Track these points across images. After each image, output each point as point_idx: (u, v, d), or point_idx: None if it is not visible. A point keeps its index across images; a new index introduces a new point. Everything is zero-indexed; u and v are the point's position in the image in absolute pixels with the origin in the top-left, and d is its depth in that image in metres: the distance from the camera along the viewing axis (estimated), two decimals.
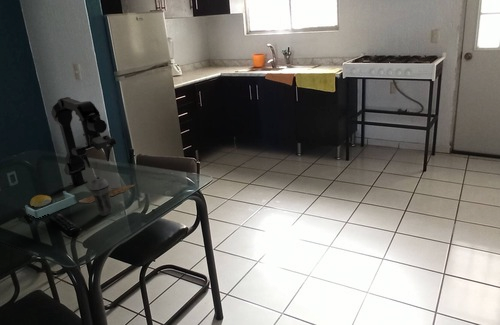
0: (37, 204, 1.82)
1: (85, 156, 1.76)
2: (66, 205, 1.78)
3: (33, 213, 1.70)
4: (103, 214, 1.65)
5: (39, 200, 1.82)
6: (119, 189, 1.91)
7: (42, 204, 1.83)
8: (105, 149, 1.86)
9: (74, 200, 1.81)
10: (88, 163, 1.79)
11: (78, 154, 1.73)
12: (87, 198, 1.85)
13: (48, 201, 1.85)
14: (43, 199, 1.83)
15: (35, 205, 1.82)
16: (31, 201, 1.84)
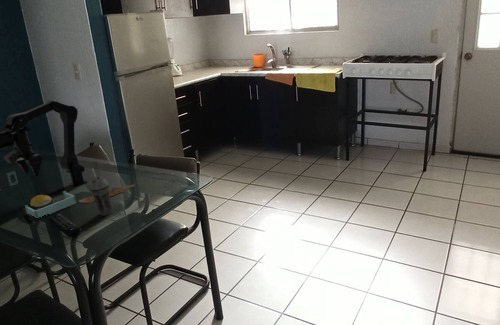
0: (37, 204, 1.82)
1: None
2: (66, 205, 1.78)
3: (33, 213, 1.70)
4: (103, 214, 1.65)
5: (39, 200, 1.82)
6: (119, 189, 1.91)
7: (42, 204, 1.83)
8: None
9: (74, 200, 1.81)
10: (23, 170, 1.89)
11: None
12: (87, 198, 1.85)
13: (48, 201, 1.85)
14: (43, 199, 1.83)
15: (35, 205, 1.82)
16: (31, 201, 1.84)
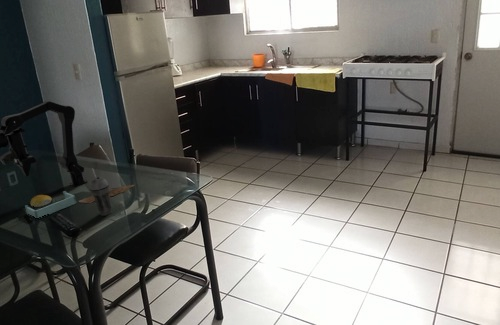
0: (37, 204, 1.82)
1: None
2: (66, 205, 1.78)
3: (33, 213, 1.70)
4: (103, 214, 1.65)
5: (39, 200, 1.82)
6: (119, 189, 1.91)
7: (42, 204, 1.83)
8: None
9: (74, 200, 1.81)
10: (23, 172, 1.87)
11: None
12: (87, 198, 1.85)
13: (48, 201, 1.85)
14: (43, 199, 1.83)
15: (35, 205, 1.82)
16: (31, 201, 1.84)
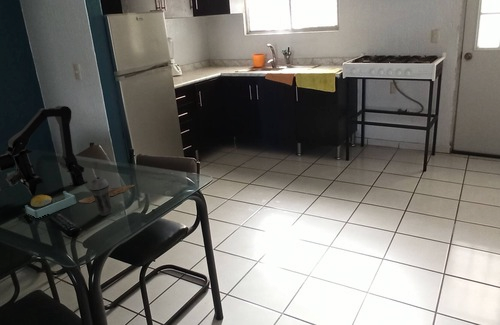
0: (37, 204, 1.82)
1: (23, 184, 1.89)
2: (66, 205, 1.78)
3: (33, 213, 1.70)
4: (103, 214, 1.65)
5: (39, 200, 1.82)
6: (119, 189, 1.91)
7: (42, 204, 1.83)
8: None
9: (74, 200, 1.81)
10: (29, 191, 1.90)
11: None
12: (87, 198, 1.85)
13: (48, 201, 1.85)
14: (43, 199, 1.83)
15: (35, 205, 1.82)
16: (31, 201, 1.84)
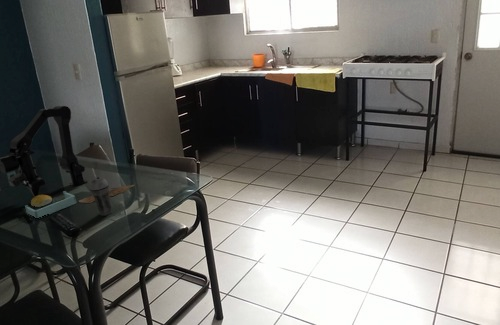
0: (38, 204, 1.82)
1: (26, 186, 1.86)
2: (66, 205, 1.78)
3: (33, 213, 1.70)
4: (103, 214, 1.65)
5: (40, 200, 1.82)
6: (119, 189, 1.91)
7: (43, 204, 1.83)
8: None
9: (74, 200, 1.81)
10: (32, 193, 1.88)
11: None
12: (87, 198, 1.85)
13: (49, 201, 1.85)
14: (44, 199, 1.83)
15: (36, 205, 1.82)
16: (32, 201, 1.83)
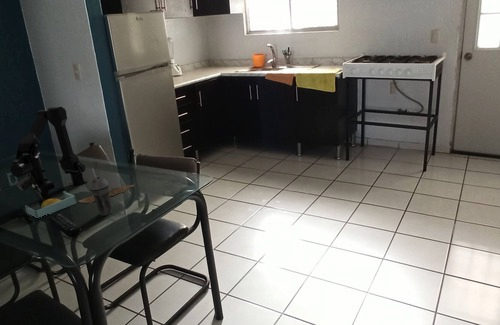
0: None
1: (35, 190, 1.80)
2: (66, 205, 1.78)
3: (33, 213, 1.70)
4: (103, 214, 1.65)
5: None
6: (119, 189, 1.91)
7: None
8: None
9: (74, 200, 1.81)
10: None
11: None
12: (87, 198, 1.85)
13: None
14: (55, 202, 1.78)
15: None
16: (42, 205, 1.77)
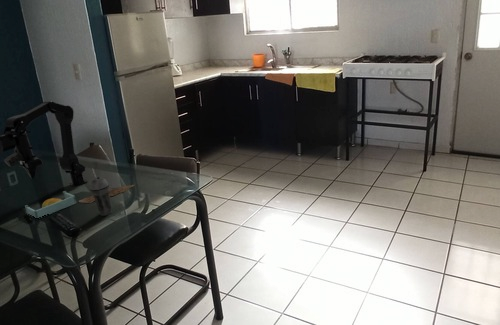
0: None
1: None
2: (66, 205, 1.78)
3: (33, 213, 1.70)
4: (103, 214, 1.65)
5: (53, 203, 1.76)
6: (119, 189, 1.91)
7: None
8: None
9: (74, 200, 1.81)
10: None
11: None
12: (87, 198, 1.85)
13: None
14: None
15: None
16: (43, 205, 1.77)
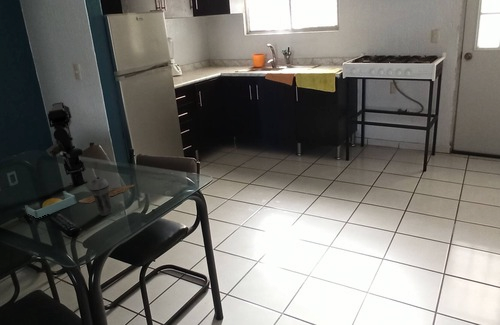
0: None
1: (63, 157, 1.89)
2: (66, 205, 1.78)
3: (33, 213, 1.70)
4: (103, 214, 1.65)
5: (53, 203, 1.76)
6: (119, 189, 1.91)
7: None
8: None
9: (74, 200, 1.81)
10: (68, 164, 1.90)
11: None
12: (87, 198, 1.85)
13: None
14: None
15: None
16: (44, 205, 1.77)
